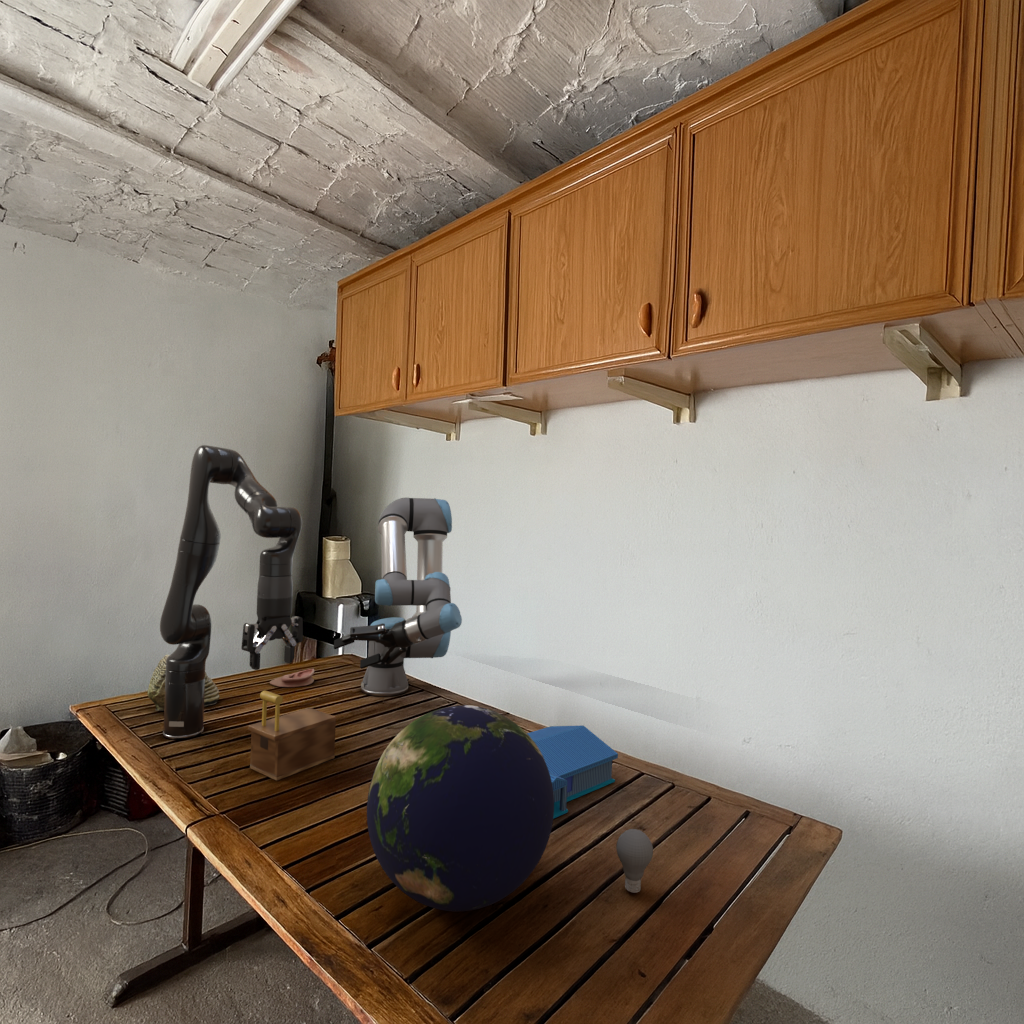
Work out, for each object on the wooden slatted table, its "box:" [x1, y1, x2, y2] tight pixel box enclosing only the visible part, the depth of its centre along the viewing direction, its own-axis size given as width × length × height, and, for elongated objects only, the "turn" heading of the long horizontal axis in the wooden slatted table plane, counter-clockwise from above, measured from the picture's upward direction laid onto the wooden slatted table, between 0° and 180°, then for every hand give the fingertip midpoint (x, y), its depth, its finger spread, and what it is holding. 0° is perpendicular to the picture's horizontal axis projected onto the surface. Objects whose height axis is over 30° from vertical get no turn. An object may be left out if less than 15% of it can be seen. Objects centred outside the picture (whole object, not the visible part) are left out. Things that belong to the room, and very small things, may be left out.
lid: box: [247, 690, 337, 741], centre depth 149 cm, size 17×10×9 cm, turn 146°
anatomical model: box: [269, 668, 315, 688], centre depth 212 cm, size 13×4×12 cm
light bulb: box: [615, 828, 654, 894], centre depth 106 cm, size 6×6×10 cm
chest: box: [249, 721, 337, 781], centre depth 150 cm, size 16×10×9 cm, turn 146°
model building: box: [526, 725, 619, 820], centre depth 140 cm, size 39×24×10 cm, turn 132°
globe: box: [366, 704, 554, 913], centre depth 102 cm, size 30×30×30 cm
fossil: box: [147, 654, 221, 712], centre depth 185 cm, size 9×18×15 cm, turn 132°
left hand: (272, 665), depth 144 cm, fingers open, 8 cm apart
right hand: (348, 654), depth 189 cm, fingers open, 13 cm apart
